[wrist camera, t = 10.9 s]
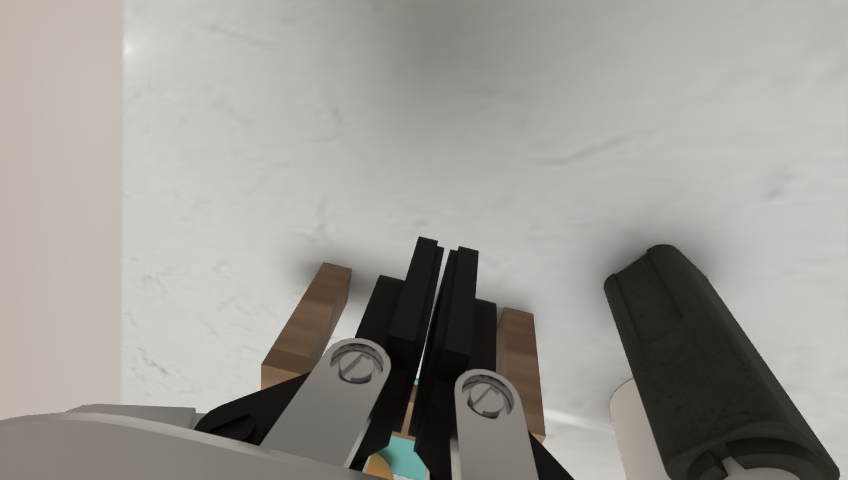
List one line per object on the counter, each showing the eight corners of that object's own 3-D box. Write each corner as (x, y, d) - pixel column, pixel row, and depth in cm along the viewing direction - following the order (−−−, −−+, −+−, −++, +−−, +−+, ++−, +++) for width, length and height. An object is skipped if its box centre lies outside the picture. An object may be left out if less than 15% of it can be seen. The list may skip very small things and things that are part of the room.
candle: (645, 329, 31) (990, 1154, 9) (595, 285, 29) (856, 1112, 8) (716, 287, 28) (1403, 1263, 7) (665, 237, 27) (1304, 1230, 6)
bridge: (323, 262, 32) (261, 364, 23) (533, 314, 31) (545, 436, 23) (320, 295, 33) (261, 402, 25) (520, 345, 33) (527, 470, 24)
